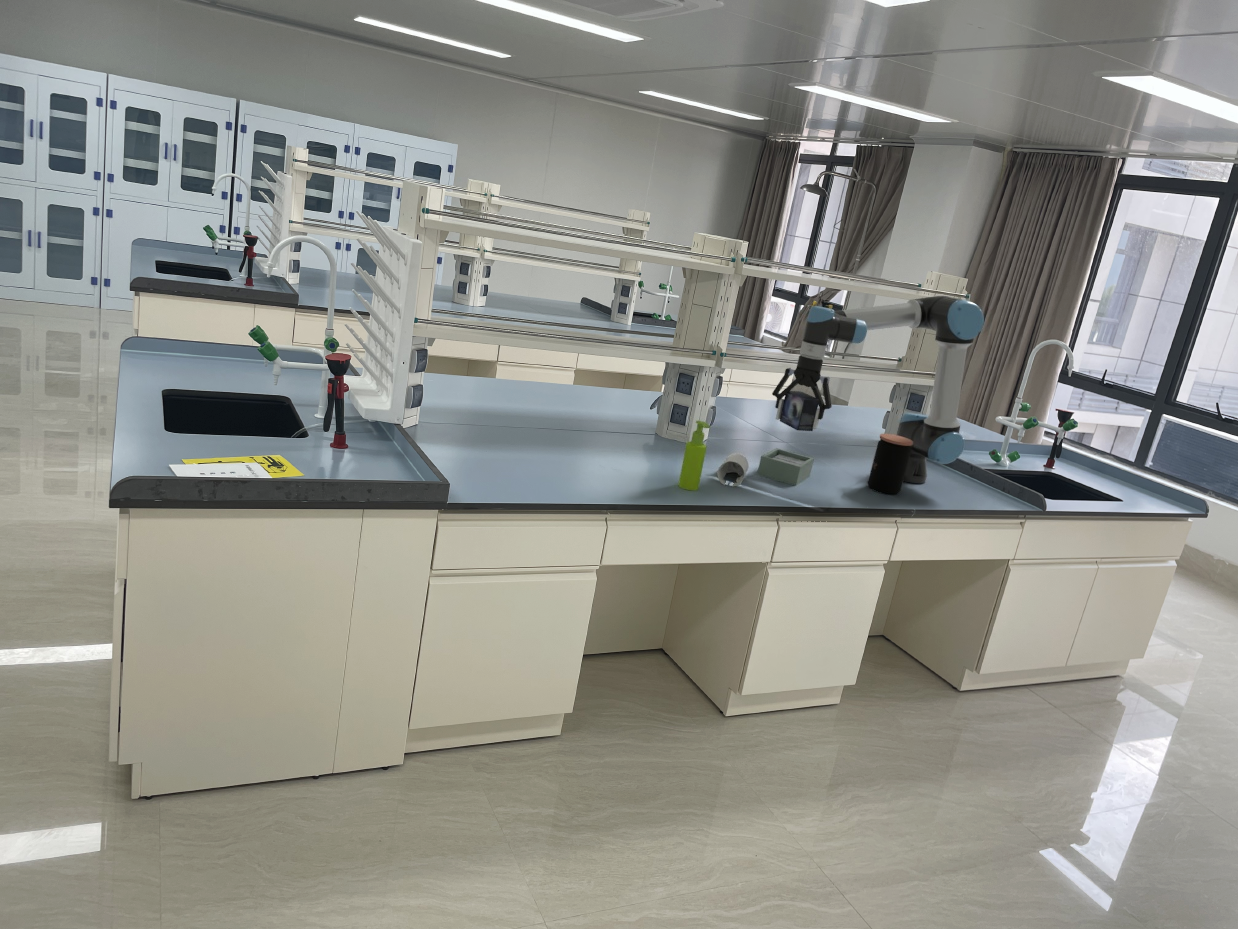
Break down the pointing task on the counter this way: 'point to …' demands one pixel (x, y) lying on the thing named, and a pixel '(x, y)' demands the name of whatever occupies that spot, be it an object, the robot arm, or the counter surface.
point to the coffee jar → (890, 464)
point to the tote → (785, 467)
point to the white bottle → (733, 467)
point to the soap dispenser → (693, 459)
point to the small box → (799, 410)
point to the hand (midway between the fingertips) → (796, 423)
